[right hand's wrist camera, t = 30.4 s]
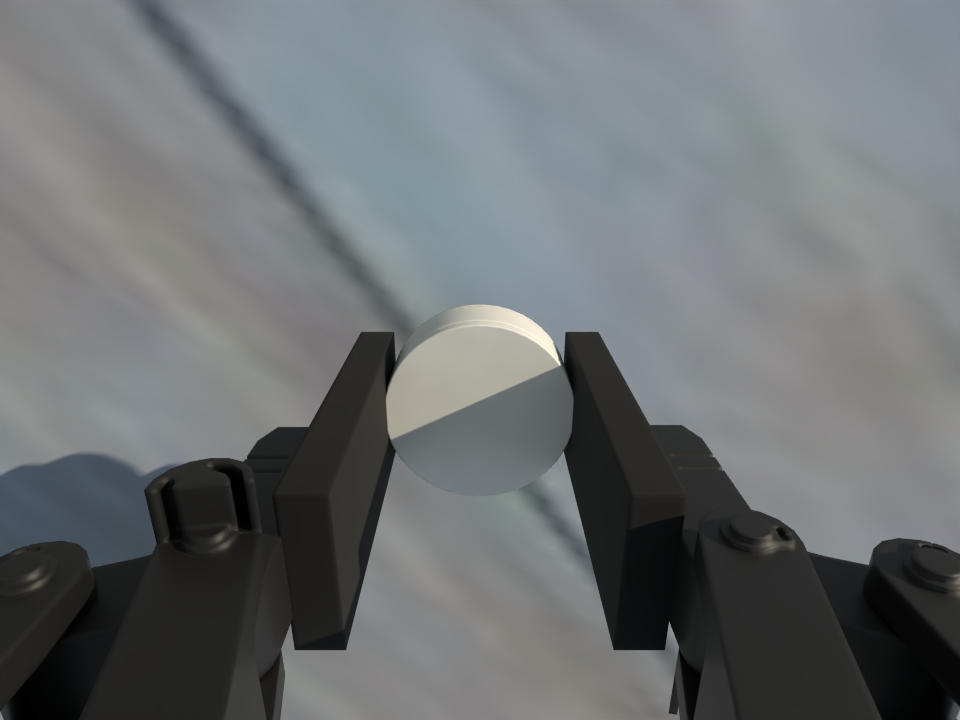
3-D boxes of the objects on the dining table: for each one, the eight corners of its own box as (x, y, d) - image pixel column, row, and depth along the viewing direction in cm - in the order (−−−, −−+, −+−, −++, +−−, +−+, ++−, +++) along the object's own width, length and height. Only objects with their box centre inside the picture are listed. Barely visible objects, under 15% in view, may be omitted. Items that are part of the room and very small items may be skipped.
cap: (358, 362, 14) (344, 389, 13) (507, 269, 13) (510, 287, 12) (455, 488, 15) (452, 525, 14) (597, 410, 15) (609, 441, 13)
